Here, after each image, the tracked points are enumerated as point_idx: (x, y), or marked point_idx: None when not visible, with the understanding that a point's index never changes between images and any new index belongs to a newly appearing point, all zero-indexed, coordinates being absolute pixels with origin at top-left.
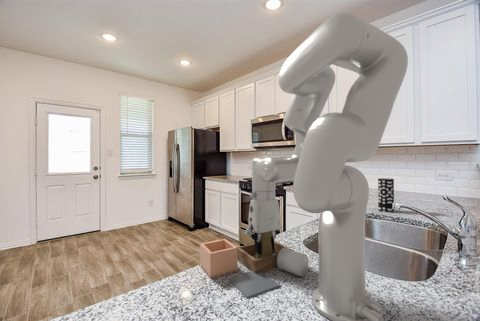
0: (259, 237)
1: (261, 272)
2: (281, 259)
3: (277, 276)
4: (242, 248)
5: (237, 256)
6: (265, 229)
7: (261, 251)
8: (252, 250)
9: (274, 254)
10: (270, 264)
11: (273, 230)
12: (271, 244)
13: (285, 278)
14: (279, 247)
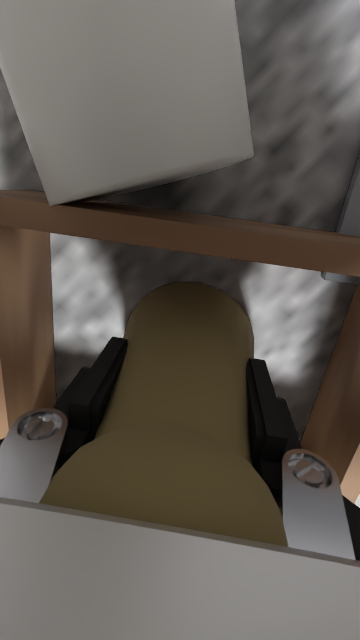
0: (310, 505)
1: (355, 224)
2: (242, 87)
3: (291, 109)
4: None
5: None
6: (294, 635)
7: (255, 370)
8: None
9: (197, 251)
10: (262, 227)
11: (33, 508)
12: (122, 378)
13: (269, 33)
14: (17, 363)
